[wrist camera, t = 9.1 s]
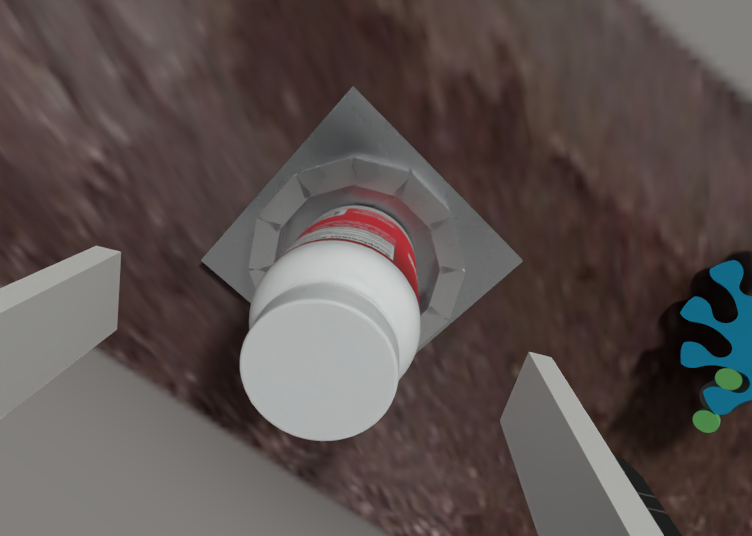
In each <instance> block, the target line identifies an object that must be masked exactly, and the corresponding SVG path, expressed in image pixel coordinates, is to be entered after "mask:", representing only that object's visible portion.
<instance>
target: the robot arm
mask: <svg viewBox="0 0 752 536" xmlns="http://www.w3.org/2000/svg"><path fill="white" fill-rule="evenodd" d="M120 262H121V252H120V251H115V250H111V249H107V248H103V247H99V246H95V247H92V248H90V249H88V250H86V251H83V252H81V253H79V254H77V255H74V256H72V257H70V258H68V259H65V260H63V261H61V262H59V263H56V264H54V265H52V266H50V267H47V268H45V269H43V270H41V271H38V272H36V273H34V274H32V275H29V276H27V277H25V278H23V279H20V280H18V281H16V282H14V283H11V284H9V285H7V286H5V287H2V288H0V420H1V419H2V418H3V417H5V416H6V415H7V414H9V413H10V412H11V411H12V410H14V409H15V408H16V407H18V406H19V405H20V404H21V403H23V402H24V401H25V400H27V399H28V398H29V397H30V396H32V395H33V394H34V393H36V392H37V391H38V390H39V389H40V388H42V387H43V386H45V385H46V384H47V383H49V382H50V381H51V380H52V379H54V378H55V377H56V376H58V375H59V374H60V373H61V372H62V371H64V370H65V369H67V368H68V367H69V366H70V365H72V364H73V363H74V362H76V361H77V360H78V359H79V358H81V357H82V356H83V355H85V354H86V353H87V352H88V351H90V350H91V349H92V348H94V347H95V346H96V345H97V344H99V343H100V342H101V341H103V340H104V339H105V338H106V337H108V336H109V335H110V334H112V333H113V332H114V331H115V330H117V318H118V299H119V280H120ZM500 423H501V425H502V428H503V431H504V434H505V437H506V440H507V443H508V446H509V449H510V452H511V455H512V458H513V461H514V464H515V467H516V470H517V473H518V476H519V479H520V482H521V485H522V488H523V491H524V494H525V497H526V500H527V503H528V506H529V509H530V512H531V515H532V518H533V521H534V524H535V527H536V530H537V533H538V536H682V535H681V534H680V532H679V531H678V529H677V528H676V526H675V525H674V523H673V522H672V520H671V519H670V517H669V516H668V514H665V512H664V511H665V510H664V508H663V507H662V505H661V504H660V502H659V501H658V499H656V498H654V494H653V492H652V491H651V489H650V488H649V486H648V485H647V483H646V482H645V480H644V479H643V477H642V476H641V475H640V474H639V473H638V472H637V471H636V470H635V469H634V468H633V467H632V466H630V465H629V464H628V463H627V462H626V461H625V460H624V459H621V458H617V457H614V456H613V454H612V452H611V451H610V449H609V448H608V446H607V444H606V443H605V441H604V440H603V438H602V436H601V435H600V433H599V432H598V430H597V429H596V427H595V425H594V424H593V422H592V421H591V419H590V417H589V416H588V414H587V413H586V411H585V410H584V408H583V406H582V405H581V403H580V402H579V400H578V398H577V397H576V395H575V394H574V392H573V391H572V389H571V387H570V386H569V384H568V383H567V381H566V379H565V378H564V376H563V375H562V373H561V372H560V370H559V368H558V367H557V365H556V364H555V362H554V360H553V359H552V357H548V356H544V355H540V354H536V353H532V352H528V355H527V357H526V359H525V362H524V364H523V367H522V369H521V371H520V374H519V376H518V378H517V381H516V383H515V386H514V388H513V390H512V393H511V395H510V398H509V400H508V402H507V405H506V407H505V409H504V412H503V414H502V417H501V419H500Z"/></svg>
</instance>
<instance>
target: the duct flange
mask: <svg viewBox="0 0 752 536" xmlns="http://www.w3.org/2000/svg"><path fill="white" fill-rule="evenodd" d="M353 205H357V206H366V207H370V208H374V209H376V210H379V211H381V212H383V213H385V214H387V215H388V216H390V217H391V218H393V219H394V220H395V221H396V222H397V223H398V224H399V225H400V226H401V227H402V228H403V229H404V231H405V232H406V234H407V235H408V237H409V239H410V241H411V243H412V246H413V249H414V253H415V259H416V268H417V282H418V294H419V306H420V324H421V325H420V339H419V344H418V348H417V351H416V353H417V352H418V351H419V350H420V349H421V348H423V347H424V346H425V345H426V344H427V343H428V342H430V341H431V340H432V339H433V338H434V337H435V336H437V335H438V334H439V333H440V332H441V331H442V330H444V329H445V328H446V327H447V326H448V325H449V324H451V323H452V322H453V321H454V320H455V319H456V318H457V317H459V316H460V315H461V314H462V313H463V312H464V311H466V310H467V309H468V308H469V307H470V306H471V305H473V304H474V303H475V302H476V301H477V300H478V299H480V298H481V297H482V296H483V295H484V294H485V293H486V292H488V291H489V290H490V289H491V288H492V287H493V286H495V285H496V284H497V283H498V282H499V281H500V280H502V279H503V278H504V277H505V276H506V275H507V274H509V273H510V272H511V271H512V270H513V269H514V268H516V267H517V266H518V265H519V264H520V263H521V262H522V261H523V260H522V259H521V258H520V257H519V256H518V255H517V253H516V252H515V251H514V250H513V249H512V248H511V247H510V246H509V245H508V244H507V243H506V242H505V241H504V240H503V239H502V238H501V237H500V236H499V235H498V234H497V233H496V232H495V231H494V230H493V229H492V228H491V227H490V226H489V225H488V224H487V223H486V222H485V221H484V220H483V219H482V218H481V217H480V216H479V214H478V213H477V212H476V211H475V210H474V209H473V208H472V207H471V206H470V205H469V204H468V203H467V202H466V201H465V200H464V199H463V198H462V197H461V196H460V195H459V194H458V193H457V192H456V191H455V190H454V189H453V188H452V187H451V186H450V185H449V184H448V183H447V182H446V181H445V180H444V179H443V178H442V177H441V175H440V174H439V173H438V172H437V171H436V170H435V169H434V168H433V167H432V166H431V165H430V164H429V163H428V162H427V161H426V160H425V159H424V158H423V157H422V156H421V155H420V154H419V153H418V152H417V151H416V150H415V149H414V148H413V147H412V146H411V145H410V144H409V143H408V142H407V141H406V140H405V139H404V137H403V136H402V135H401V134H400V133H399V132H398V131H397V130H396V129H395V128H394V127H393V126H392V125H391V124H390V123H389V122H388V121H387V120H386V119H385V118H384V117H383V116H382V115H381V114H380V113H379V112H378V111H377V110H376V109H375V108H374V107H373V106H372V105H371V104H370V103H369V102H368V101H367V100H366V98H365V97H364V96H363V95H362V94H361V93H360V92H359V91H358V90H357V89H356V88H355V87H354V86H353V87H352V88H351V89H350V90H349V91H348V92H347V94H346V95H345V96H344V97H343V98H342V99H341V100H340V102H339V103H338V104H337V105H336V106H335V107H334V108H333V110H332V111H331V112H330V113H329V114H328V115H327V117H326V118H325V119H324V120H323V121H322V122H321V123H320V125H319V126H318V127H317V128H316V129H315V130H314V131H313V133H312V134H311V135H310V136H309V137H308V138H307V139H306V141H305V142H304V143H303V144H302V145H301V146H300V147H299V149H298V150H297V151H296V152H295V153H294V154H293V155H292V157H291V158H290V159H289V160H288V161H287V162H286V163H285V165H284V166H283V167H282V168H281V169H280V170H279V172H278V173H277V174H276V175H275V176H274V177H273V178H272V180H271V181H270V182H269V183H268V184H267V185H266V186H265V188H264V189H263V190H262V191H261V192H260V193H259V194H258V196H257V197H256V198H255V199H254V200H253V201H252V202H251V204H250V205H249V206H248V207H247V208H246V209H245V210H244V212H243V213H242V214H241V215H240V216H239V217H238V218H237V220H236V221H235V222H234V223H233V224H232V225H231V227H230V228H229V229H228V230H227V231H226V232H225V233H224V235H223V236H222V237H221V238H220V239H219V240H218V241H217V243H216V244H215V245H214V246H213V247H212V248H211V249H210V251H209V252H208V253H207V254H206V255H205V256H204V257H203V259H202V260H201V261H202V262H203V263H204V264H206V265H207V266H208V267H209V268H210V269H211V270H213V271H214V272H215V273H216V274H217V275H218V276H220V277H221V278H222V279H223V280H224V281H225V282H227V283H228V284H229V285H230V286H231V287H232V288H234V289H235V290H236V291H237V292H238V293H239V294H241V295H242V296H243V297H244V298H245V299H246V300H248V301H249V302H250V303H251V302H252V299H253V296H254V293H255V291H256V288H257V286H258V284H259V282H260V281H261V279H262V278H263V276H264V275H265V273H266V272H267V270H268V269H269V268H270V267H271V266H272V264H273V263H274V262H275V261H276V260H277V259H278V258H279V257H280V256H281V255H282V254H283V253H284V252H285V251H286V250H287V249H288V248H289V247H290V246H291V245H292V244H293V243H294V242H295V241H296V239H297V238H298V237H299V236H300V235H301V234H302V233H303V232H304V231H305V230H306V228H307V227H308V226H309V225H310V224H312V223H313V222H314V221H315V220H316V219H317V218H319V217H320V216H321V215H323V214H325V213H326V212H328V211H331V210H333V209H336V208H339V207H344V206H353Z"/></svg>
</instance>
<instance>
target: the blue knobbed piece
mask: <svg viewBox="0 0 752 536" xmlns="http://www.w3.org/2000/svg"><path fill="white" fill-rule="evenodd" d="M710 275H711V277H712V279H713V280H714V281H715V282H716V283H717V284H719V285H721V286H722V287H724V288H725V289H726V290H727V291H728V292H729V293H730V294H731V295H732V297H733V298H734V300H735V303H736V306H737V309H738V317H737V319H736V320H735V321H733V322H730V323H721V322H719V321H717V320H715V318H714V316H713V313H712V309H711V306H710V305H709V303H708V302H707V301H706V300H705V299H703V298H701V297H697V296H695V297H693V298H692V299H690V300H689V301H688V302H687V303H686V304H685V306H684V307H683V309H682V310H681V312H680V314H681V315H682V316H683V317H684V318H685V319H686V320H688V321H691V322H695V323H701V324H705V325H707V326H710V327H712V328H714V329H716V330H717V331H719V332H720V333H721V334H722V335H723V336H724V337H725V338H726V339H727V340H728V341H729V342H730V343H731V345H732V352H731V353H730V354H729V355H728V356H726V357H722V358H720V357H716V356H713V355H712V354H711V353H710V352H709V351H708V350H707V349H706V348H705V347H703V346H702V345H701V344H699V343H696V342H684V343H683V345H682V348H681V364H682V365H684V366H686V367H690V368H697V367H701V366H707V365H717V366H723V367H727V368H723V369H720V370H719V371H718V372H717V373H716V375H715V379H713V380H712V381H710V382H708V383H707V384H705V385H704V386H703V387H702V388H701V390H700V392H699V398H700V401H701V403H702V405H703V406H704V407H705V408H702V409H699V410H698V411H697V412H696V413H695V414H694V416H693V423H694V425H695V427H696V428H698V429H699V430H700V431H703V432H706V433H711V432H714V431H716V430H717V429H718V427H719V425H720V422H721V420H720V416H719V415H726V414H730V413H732V412H734V411H735V410H737V409H739V408H741V407H742V406H744V405H746V404H748V403H750V402H751V401H752V296H747V295H745V294H743V293H742V292H741V291H740V289H739V285H740V283H741V280H742V278H743V268H742V266H741V264H740V263H739V262H738V261H736V260H732V261H727V262H724V263H721V264H719V265H717V266H715V267H713V268H711V269H710Z"/></svg>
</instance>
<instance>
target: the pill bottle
mask: <svg viewBox="0 0 752 536" xmlns="http://www.w3.org/2000/svg"><path fill="white" fill-rule="evenodd" d="M420 325H421V324H420V306H419V294H418V282H417V268H416V259H415V253H414V249H413V246H412V243H411V241H410V239H409V237H408V235H407V234H406V232H405V231H404V229H403V228H402V227H401V226H400V225H399V224H398V223H397V222H396V221H395V220H394V219H393V218H391V217H390V216H388V215H387V214H385V213H383V212H381V211H379V210H376V209H374V208H370V207H366V206H357V205H353V206H344V207H339V208H336V209H333V210H331V211H328V212H326V213H325V214H323V215H321V216H320V217H319V218H317V219H316V220H315V221H314V222H313V223H312V224H310V225H309V226H308V227H307V228H306V230H305V231H304V232H303V233H302V234H301V235H300V236H299V237H298V238H297V239H296V241H295V242H294V243H293V244H292V245H291V246H290V247H289V248H288V249H287V250H286V251H285V252H284V253H283V254H282V255H281V256H280V257H279V258H278V259H277V260H276V261H275V262H274V263H273V264H272V266H271V267H270V268H269V269H268V270H267V272H266V273H265V275H264V276H263V278H262V279H261V281H260V282H259V284H258V286H257V288H256V291H255V293H254V296H253V299H252V302H251V306H250V313H249V330H250V331H249V332H248V334H247V335H246V337H245V340H244V342H243V345H242V349H241V354H240V374H241V379H242V382H243V386H244V389H245V391H246V393H247V395H248V397H249V399H250V401H251V403H252V404H253V405H254V407H255V408H256V409H257V410H258V411H259V412H260V414H261V415H262V416H263V417H264V418H265V419H267V420H268V421H269V422H270V423H272V424H273V425H275V426H276V427H278V428H279V429H281V430H283V431H285V432H287V433H289V434H291V435H294V436H297V437H300V438H304V439H309V440H316V441H334V440H341V439H345V438H348V437H352V436H355V435H357V434H359V433H361V432H363V431H365V430H367V429H368V428H370V427H371V426H373V425H374V424H375V423H376V422H377V421H378V420H379V419H380V418H381V417H382V416H383V415H384V414H385V413H386V411H387V410H388V408H389V407H390V405H391V403H392V401H393V399H394V396H395V393H396V390H397V386H398V380H399V379H400V378H401V377H402V376H403V375H404V373H405V372H406V370H407V369H408V368H409V366H410V364H411V362H412V360H413V358H414V356H415V354H416V351H417V348H418V344H419V339H420Z"/></svg>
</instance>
